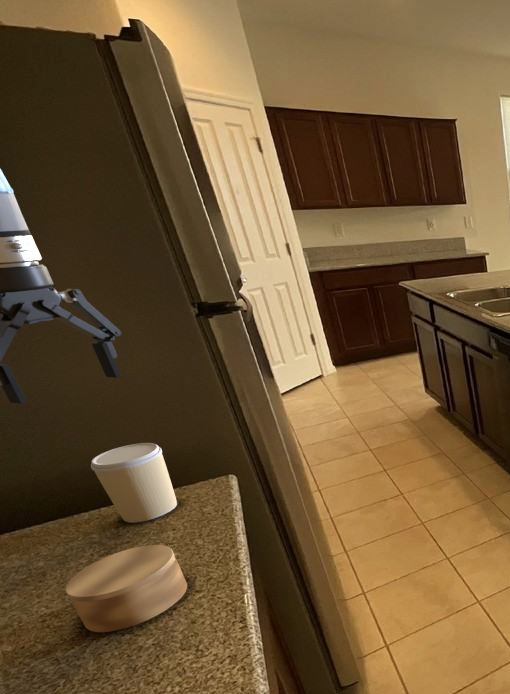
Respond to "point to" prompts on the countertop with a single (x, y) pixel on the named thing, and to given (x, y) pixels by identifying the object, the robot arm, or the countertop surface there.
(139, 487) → the coffee cup
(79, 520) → the countertop surface
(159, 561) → the stand
